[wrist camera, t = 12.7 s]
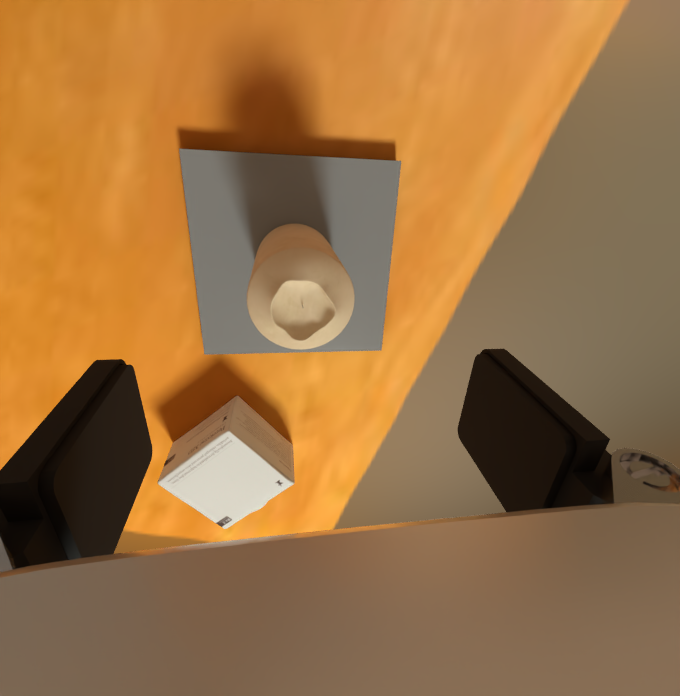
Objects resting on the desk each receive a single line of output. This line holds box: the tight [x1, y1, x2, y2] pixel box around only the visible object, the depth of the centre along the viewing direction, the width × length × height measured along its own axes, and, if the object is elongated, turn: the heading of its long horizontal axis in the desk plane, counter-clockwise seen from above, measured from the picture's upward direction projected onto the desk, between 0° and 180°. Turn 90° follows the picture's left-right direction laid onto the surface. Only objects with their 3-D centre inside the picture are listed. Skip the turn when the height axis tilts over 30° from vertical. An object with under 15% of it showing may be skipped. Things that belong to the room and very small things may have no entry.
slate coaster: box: [179, 149, 401, 354], centre depth 27 cm, size 14×14×1 cm
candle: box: [247, 224, 355, 350], centre depth 22 cm, size 6×6×10 cm
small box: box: [158, 396, 294, 529], centre depth 32 cm, size 8×8×5 cm
